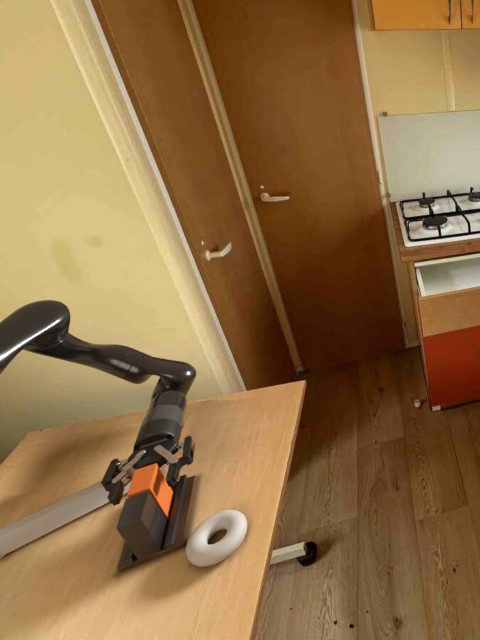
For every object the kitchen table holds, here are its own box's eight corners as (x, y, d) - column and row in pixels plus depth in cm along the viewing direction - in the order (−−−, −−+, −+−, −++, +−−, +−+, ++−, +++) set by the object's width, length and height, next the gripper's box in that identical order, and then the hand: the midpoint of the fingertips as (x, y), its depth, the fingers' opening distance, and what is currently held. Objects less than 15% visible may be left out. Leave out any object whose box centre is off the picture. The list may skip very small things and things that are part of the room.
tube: (155, 449, 96) (-9, 526, 80) (155, 458, 92) (-17, 541, 76) (164, 469, 97) (4, 549, 81) (165, 479, 93) (-3, 565, 77)
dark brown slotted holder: (119, 573, 77) (91, 537, 72) (141, 497, 90) (119, 462, 85) (184, 546, 81) (163, 511, 76) (197, 478, 94) (179, 443, 89)
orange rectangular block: (147, 527, 83) (126, 495, 78) (154, 501, 88) (134, 469, 83) (169, 519, 84) (149, 487, 80) (174, 494, 89) (156, 462, 85)
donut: (189, 583, 76) (252, 548, 81) (182, 572, 74) (246, 538, 79) (189, 535, 83) (247, 506, 88) (183, 524, 81) (242, 496, 86)
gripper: (113, 430, 89) (85, 496, 76) (193, 407, 95) (180, 464, 82) (127, 454, 92) (103, 521, 79) (204, 430, 98) (193, 489, 85)
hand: (142, 492), depth 81 cm, fingers open, 8 cm apart
